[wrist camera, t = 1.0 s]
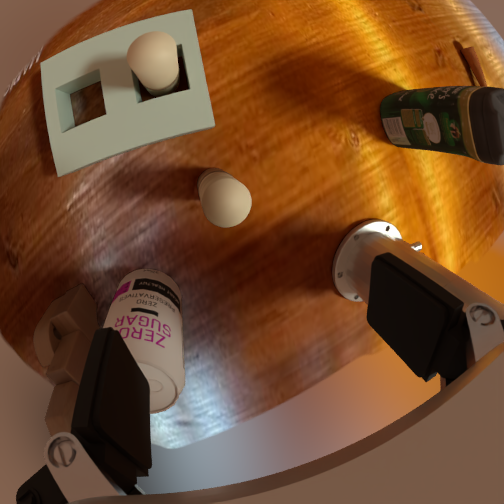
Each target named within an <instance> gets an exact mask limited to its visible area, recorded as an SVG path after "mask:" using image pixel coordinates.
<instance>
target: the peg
mask: <svg viewBox="0 0 504 504" xmlns="http://www.w3.org/2000/svg"><path fill="white" fill-rule="evenodd" d="M197 188H198V194H199V198H200V200H201V204H202V208H203V212H204V214H205V216H206V218H207V219H208V220H209V221H210V222H211V223H213V224H214V225H216V226H219V227H232V226H235V225H238V224H239V223H241V222H242V221H243V220H244V219H245V218H246V217H247V215H248V214H249V212H250V209H251V196H250V193H249V191H248V189H247V188H246V187H245V186H244V185H243V184H242V183H240V182H239V181H238V180H236V179H235V178H233V177H232V176H231V175H230V174H229V173H227V172H225V171H223V170H222V169H219V168H210V169H207V170H205V171H204V172H203V173H202V174H201V175H200V176H199V178H198V182H197Z"/></svg>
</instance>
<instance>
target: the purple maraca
mask: <svg viewBox="0 0 504 504" xmlns="http://www.w3.org/2000/svg"><path fill="white" fill-rule="evenodd" d="M460 51H461V53H462V54H463V56H464V57H465V59H466V61H467V62H468V64H469V66H470V68H471V69H472V71H473V73H474V75H475V77H476V79H477V80H478V82H479V84H480V86H481V87H487V84H486V81H485V78H484V75H483V72H482V69H481V66H480V63H479V60H478V58H477V55H476V52H475V50H474V47H469V48H465V49H462V50H460Z"/></svg>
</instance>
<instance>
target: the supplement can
mask: <svg viewBox="0 0 504 504" xmlns="http://www.w3.org/2000/svg"><path fill="white" fill-rule="evenodd" d="M107 327H112V328H113V329H114V330H118V331H119V332H120V334H121V336H122V338H123V340H124V342H125V343H126V345H127V347H128V349H129V350H130V352H131V354H132V356H133V357H134V359H135V361H136V362H137V364H138V366H139V367H140V369H141V371H142V372H143V374H144V376H145V377H146V379H147V380H148V383H149V386H150V414H155V413H159V412H162V411H166V410H167V409H169V408H170V407H172V406H173V405H174V404H175V403H176V401H177V399H178V398H179V394H180V393H181V391H182V389H183V388H184V386H185V366H184V348H183V324H182V295H181V292H180V290H179V287H178V285H177V284H176V283H175V282H174V281H173V279H172V278H171V277H169V276H168V275H166V274H164V273H163V272H161V271H157V270H153V269H139V270H135V271H133V272H131V273H129V274H127V275H126V276H125V277H124V278H123V279H122V280H121V282H120V283H119V286H118V288H117V291H116V293H115V296H114V298H113V301H112V304H111V306H110V309H109V312H108V315H107V317H106V320H105V323H104V326H103V328H107Z"/></svg>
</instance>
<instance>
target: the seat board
mask: <svg viewBox="0 0 504 504" xmlns="http://www.w3.org/2000/svg"><path fill="white" fill-rule="evenodd" d="M181 56H182V58H183V63H184V68H185V73H186V79H187V84H188V89H189V90H185V91H181V92H177V93H173V92H174V91H175V90H176V89H177V88H178V85H179V82H180V78H179V65H178V58H177V57H181ZM41 78H42V90H43V100H44V108H45V115H46V122H47V128H48V133H49V139H50V144H51V149H52V153H53V158H54V162H55V166H56V171H57V174H58V177H60V176H64V175H67V174H70V173H73V172H75V171H78V170H80V169H83V168H85V167H88V166H90V165H93V164H95V163H98V162H100V161H103V160H106V159H108V158H111V157H114V156H117V155H119V154H122V153H125V152H128V151H131V150H134V149H137V148H140V147H144V146H147V145H150V144H153V143H157V142H160V141H164V140H167V139H171V138H175V137H178V136H182V135H186V134H190V133H194V132H198V131H203V130H207V129H212V128H213V127H214V126H215V122H214V117H213V113H212V108H211V103H210V98H209V93H208V88H207V83H206V78H205V74H204V69H203V64H202V59H201V54H200V49H199V44H198V39H197V33H196V28H195V23H194V18H193V13H192V9H191V10H185V11H180V12H175V13H170V14H166V15H161V16H157V17H153V18H149V19H146V20H142V21H139V22H135V23H132V24H129V25H126V26H123V27H120V28H117V29H114V30H111V31H108V32H106V33H103V34H100V35H98V36H95V37H93V38H91V39H88V40H86V41H84V42H81V43H79V44H77V45H75V46H73V47H70V48H68V49H66V50H64V51H62V52H60V53H58V54H56V55H55V56H53V57H51V58H49V59H47V60H45V61H44V62H42V63H41ZM138 78H139V80H140V82H141V83H142V85H143V86H144V87H145V88H146V89H147V91H148V92H149V93H150V94H151V95H153V96H155V97H158V98H154V99H151V100H147V101H144V102H142V98H141V93H140V88H139V82H138ZM99 81H101V84H102V91H103V97H104V103H105V108H106V115H104V116H101V117H98V118H96V119H93V120H91V121H89V122H86V123H84V124H82V125H79V126H77V127H75V124H74V118H73V112H72V106H71V99H70V94H72V93H74V92H76V91H78V90H80V89H83V88H85V87H87V86H89V85H92V84H94V83H97V82H99ZM172 93H173V94H172Z"/></svg>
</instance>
